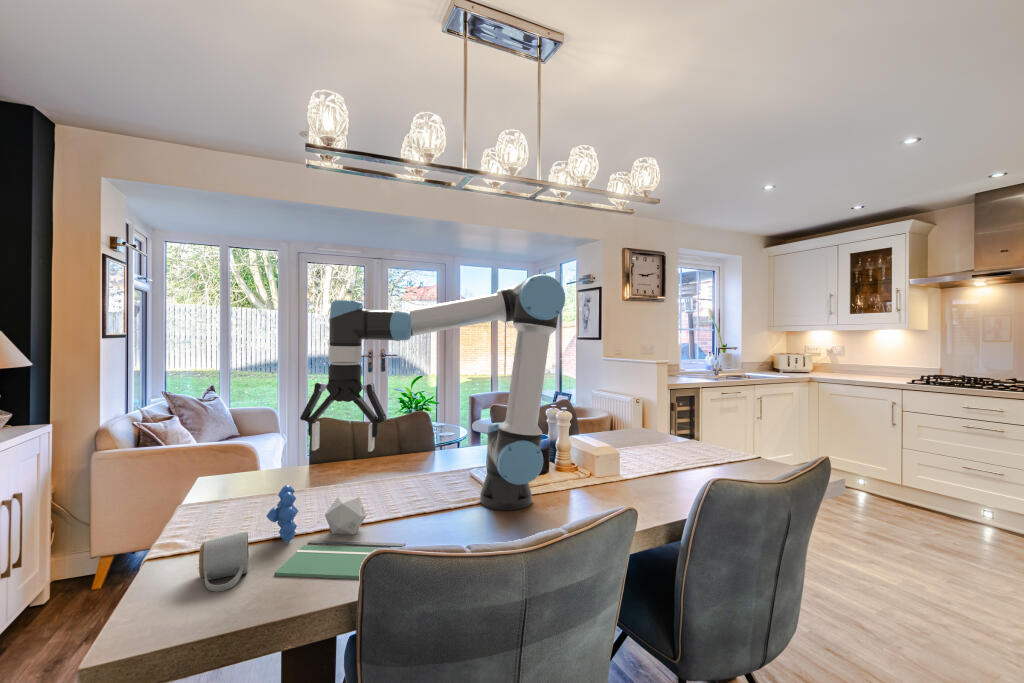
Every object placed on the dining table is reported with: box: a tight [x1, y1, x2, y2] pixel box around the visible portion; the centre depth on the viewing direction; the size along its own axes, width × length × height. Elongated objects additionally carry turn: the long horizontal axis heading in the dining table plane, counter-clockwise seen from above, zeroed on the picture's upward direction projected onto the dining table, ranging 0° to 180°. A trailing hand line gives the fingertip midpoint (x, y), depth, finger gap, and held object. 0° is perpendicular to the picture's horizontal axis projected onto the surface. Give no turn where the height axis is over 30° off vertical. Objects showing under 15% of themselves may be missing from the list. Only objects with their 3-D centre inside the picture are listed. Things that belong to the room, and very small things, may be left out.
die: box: [324, 496, 368, 536], centre depth 111 cm, size 8×9×10 cm
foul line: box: [307, 539, 406, 548], centre depth 105 cm, size 22×1×1 cm, turn 89°
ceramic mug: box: [198, 531, 250, 592], centre depth 89 cm, size 11×8×8 cm
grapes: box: [266, 484, 299, 543], centre depth 107 cm, size 12×7×12 cm, turn 31°
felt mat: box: [274, 544, 379, 580], centre depth 96 cm, size 22×12×1 cm, turn 89°
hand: (343, 449), depth 113 cm, fingers open, 13 cm apart
